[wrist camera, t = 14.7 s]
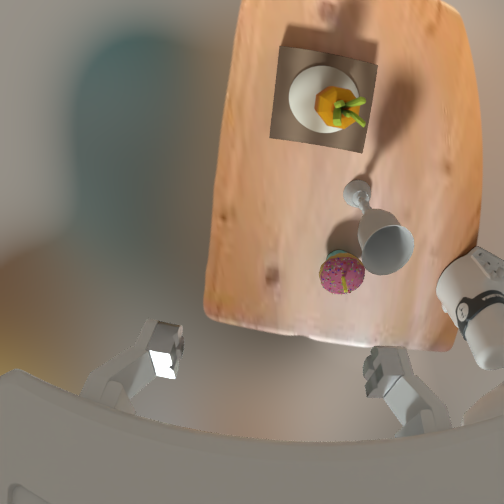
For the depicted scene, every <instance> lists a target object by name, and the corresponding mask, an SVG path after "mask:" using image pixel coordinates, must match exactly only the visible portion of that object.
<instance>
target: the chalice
mask: <svg viewBox="0 0 504 504" xmlns="http://www.w3.org/2000/svg"><path fill="white" fill-rule="evenodd" d="M343 197H344V200H345V201H346V203H347V204H349V205H350V206H353V207H357V208H360V210H362V213H363V216H362V218H361V220H360V223H359V227H358V235H357V236H358V241H359V244H360V246H361V249H362V256H361V257H362V263H363V265H364V267H365V268H366V270H368V271H369V272H371V273H372V274H376V275H388V274H391V273H393V272H396V271H397V270H399V269H400V268H402V267H403V266H404V265H405V264H406V263H407V262H408V260H409V259H410V257H411V255H412V253H413V249H414V238H413V236H412V234H411V232H410V231H409V230H407V229H406V228H405V227H402V226H401V225H400V223H399V222H398V220H397V219H396V217H395V216H394V215H393V214H391V213H390V212H387V211H385V210H381V209H372V208H371V207H370V206H369V200H370V197H371V189H370V186H369V185H368V184H367V183H366V182H365V181H362V180H354V181H351V182H350V183H349V184H347V186H346V187H345V189H344V192H343Z"/></svg>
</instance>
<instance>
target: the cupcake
mask: <svg viewBox="0 0 504 504" xmlns="http://www.w3.org/2000/svg"><path fill="white" fill-rule="evenodd" d="M364 274H365V268H364V265H363V263H362V262H361V261H360V260H359V259H358V258H357V257H356V256H354V255H352V254H350V253H347V252H345V251H343V250H336V251H333V252H332V253H330V254H329V255H328V257H327V259H326V261H325V262H324V263H323V264H322V266H321V268H320V272H319V277H320V280H321V284H322V286H323V288H325V289H326V290H328V291H329V292H331V293H334V294H347V293H351V291H354V290H356V289H357V288H358V287H359V286H360V285H361V284H362V282H363V280H364V277H365V276H364Z"/></svg>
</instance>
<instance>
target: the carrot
mask: <svg viewBox="0 0 504 504" xmlns="http://www.w3.org/2000/svg"><path fill="white" fill-rule="evenodd" d="M365 103H366V99H365V98H364V97H358V98H356V97H355V96H354V94H353V93H352V91H351V90H349V89H345V88H340V87H335V86H329V87H327V88H325V89H324V90H322V91H321V92H319V93H318V94H316V99H315V106H314V109H315V111H316V112H317V113H318V115H319V116H320V117H321V119H322V120H323V121H324V123H325V124H326V125H327V126H331V127H336V128H341V129H345V128H347V127H348V126H350V125H351V124H353V123H354V122H357V123H359V124H360V125H361V126H362V127H365V125H366V122H365V121H364V120H363V119H362V118H361V117H360V116H359V110H360V105H363V104H365Z"/></svg>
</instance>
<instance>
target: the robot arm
mask: <svg viewBox="0 0 504 504" xmlns="http://www.w3.org/2000/svg"><path fill="white" fill-rule="evenodd" d="M436 293H437V297H438V298H439V300H440V301H441V302H442V309H443V311H444V312H448V314H449V315H450V317H451V319H452V320H453V322H454V323H455V325H456V326H457V327H458V328H459V330H460V333H461V335H462V336H463V338H464V339H465V340H466V341H467V342H468V344H469V346H470V349H471V351H472V353H473V356H474V358H475V360H476V363H477V364H478V365H479V366H480V367H481V368H483V369H486V370H497V369H501V368H504V260H502V259H500V258H498V257H497V256H495V255H493V254H492V253H490V252H488V251H486V250H484V249H482V248H481V247H479V246H477V247H475V248H473V249H472V250H471V251H470V252H469V253H468V254H467V255H465V256H463V257H460V258H459V259H457V260H455V261H454V262H453V263H451V264H450V265H449V266H448V267H447V268H446V269H445V271H444V272H443V273H442V275H441V277H440V278H439V281H438V283H437V288H436ZM182 333H183V327H182V326H181V325H177V324H171V323H167V322H162V321H158V320H153V319H147V320H146V321H145V323H144V326H143V328H142V330H141V332H140V334H139V336H138V338H137V341H136V343H135V345H134V347H129V348H127V349H126V350H124V351H123V352H121V353H120V354H118V355H117V356H115V357H114V358H112V359H110V360H109V361H107V362H106V363H104V364H103V365H102V366H100V367H98V368H97V369H95V370H94V371H92V372H90V374H89V376H88V378H87V381H86V383H85V385H84V387H83V389H82V391H81V393H80V395H79V396H78V395H75V394H73V393H71V392H68V391H66V390H63V389H61V388H59V387H56V386H54V385H52V384H50V383H48V382H45V381H43V380H41V379H39V378H37V377H35V376H33V375H31V374H29V373H27V372H25V371H23V370H20V369H14V370H12V371H9V372H7V373H6V374H4V375H2V376H0V504H504V381H503V382H502V383H501V384H499V385H498V386H497V387H495V388H494V389H492V390H491V391H490V392H488V393H487V394H485V395H484V396H483V397H482V398H480V399H479V400H478V401H477V402H476V403H475V404H474V405H473V406H471V408H469V409H468V410H467V411H466V412H465V413H464V415H463V418H462V422H461V426H460V427H456V428H452V424H451V420H450V417H449V413H448V409H447V406H446V405H445V404H444V403H443V402H442V401H441V400H440V399H439V398H438V396H437V395H435V393H433V391H432V390H430V388H429V387H428V386H427V385H426V384H425V383H424V382H423V381H422V380H421V379H420V378H419V377H418V376H417V375H414V373H413V369H412V366H411V362H410V359H409V356H408V353H407V349H406V348H405V347H401V346H374V347H373V348H372V349H371V355H370V356H368V357H367V358H366V360H365V361H364V365H363V376H364V378H365V379H366V380H367V383H366V385H365V388H366V395H367V397H368V398H383V399H384V400H385V402H386V403H387V404H388V406H389V407H390V409H391V410H392V411H393V413H394V414H395V415H396V417H397V418H398V420H399V421H400V423H401V424H402V425H403V427H402V428H401V429H400V430H399V431H398V432H397V433H396V434H395V438H388V439H377V440H364V441H343V442H341V441H340V442H305V441H304V442H303V441H283V440H269V439H258V438H248V437H240V436H232V435H225V434H219V433H212V432H206V431H201V430H195V429H190V428H186V427H181V426H176V425H172V424H167V423H163V422H159V421H155V420H152V419H148V418H144V417H140V416H137V415H135V414H136V411H135V409H134V407H133V405H132V403H131V402H130V399H131V398H132V397H133V396H135V395H136V394H137V393H138V392H139V391H140V390H142V389H143V388H144V387H145V386H146V385H147V384H148V383H150V382H151V381H152V380H153V379H154V378H155V377H156V376H162V377H166V378H172V379H175V378H176V374H177V371H178V368H179V364H178V360H180V359H181V358H182V355H183V350H184V338H183V336H182Z"/></svg>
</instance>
